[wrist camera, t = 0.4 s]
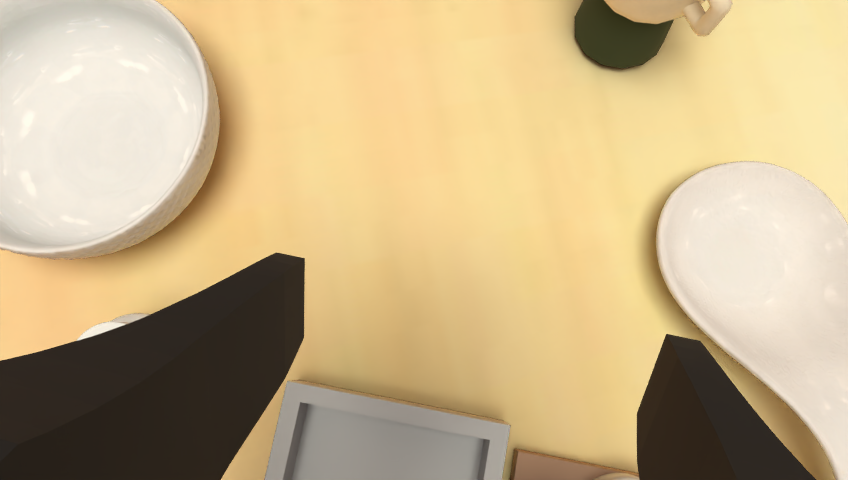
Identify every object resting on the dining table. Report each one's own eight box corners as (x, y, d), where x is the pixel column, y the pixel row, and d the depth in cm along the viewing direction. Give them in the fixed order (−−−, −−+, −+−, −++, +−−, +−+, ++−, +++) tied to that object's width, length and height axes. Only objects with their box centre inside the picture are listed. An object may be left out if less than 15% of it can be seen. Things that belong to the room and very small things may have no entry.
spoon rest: (615, 200, 43) (653, 167, 36) (779, 157, 43) (849, 116, 36) (738, 569, 38) (810, 615, 31) (921, 516, 39) (1031, 549, 32)
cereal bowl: (138, 322, 41) (80, 313, 34) (-60, 187, 42) (-154, 152, 35) (290, 112, 44) (265, 64, 37) (99, -7, 45) (40, -74, 38)
